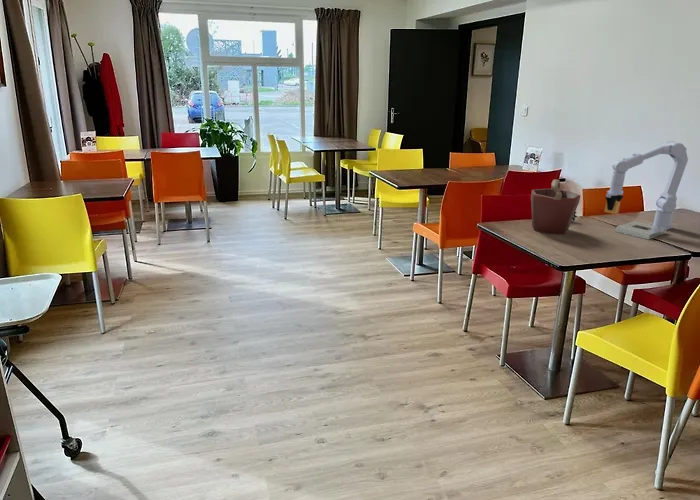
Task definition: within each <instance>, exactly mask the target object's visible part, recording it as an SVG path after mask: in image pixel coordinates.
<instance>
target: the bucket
mask: <svg viewBox="0 0 700 500" xmlns="http://www.w3.org/2000/svg"><path fill="white" fill-rule="evenodd" d="M550 185H551V188H552V189H551V188H540V189H539V188H536V189H531V191H530V192H531V194H530V203H531V204H530V205H531V206H530V208H531V227H532V229H533V231H535V232H538V233H543V234H545V235H546V234H547V235H565V233H567V232H568V231H569V228H570V225H571V223H572V221H573V219H572V218H573V217H574V213H575V212H577V208H578V205H579V203H580V200H581V194H578V193H575V192H572V191H569V190H563V189H560V188H561V180H560V179H552V182H551V184H550Z"/></svg>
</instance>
